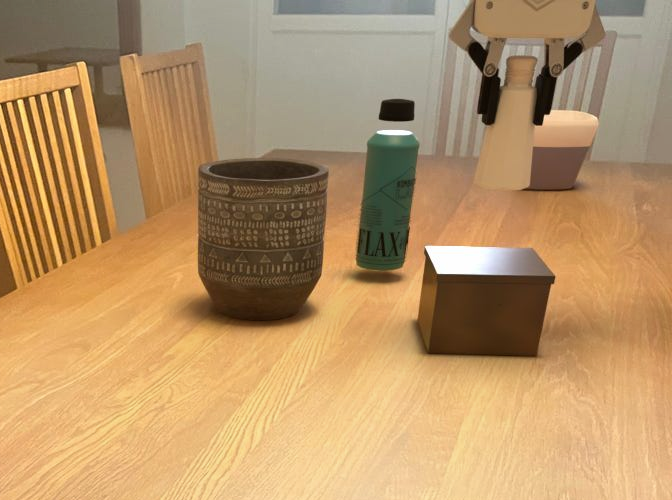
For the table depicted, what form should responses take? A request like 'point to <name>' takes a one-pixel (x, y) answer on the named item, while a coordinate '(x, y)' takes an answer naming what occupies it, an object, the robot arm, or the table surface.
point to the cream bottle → (510, 130)
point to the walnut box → (483, 300)
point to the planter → (261, 234)
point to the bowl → (560, 149)
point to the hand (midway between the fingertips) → (511, 121)
